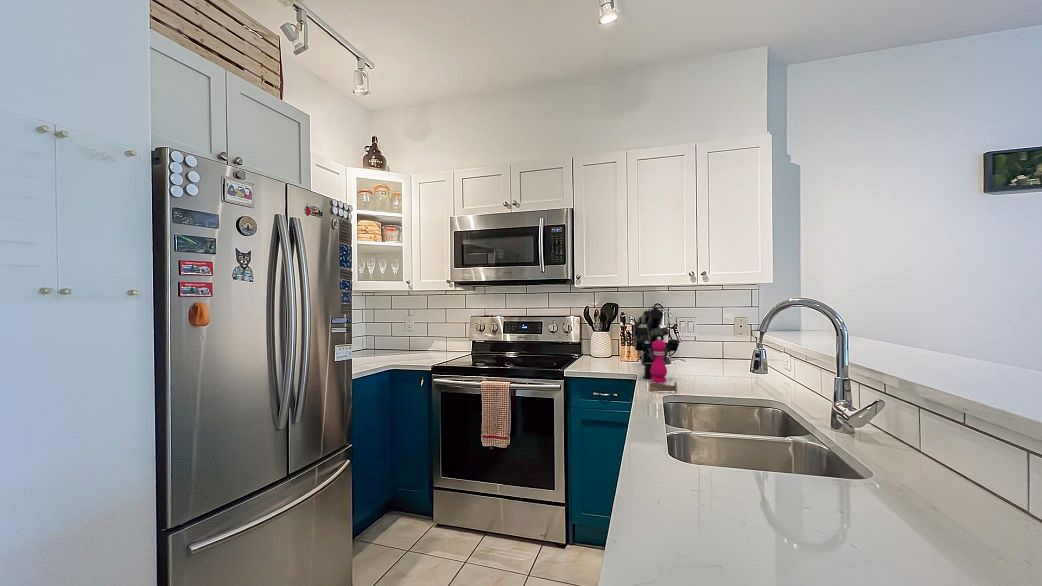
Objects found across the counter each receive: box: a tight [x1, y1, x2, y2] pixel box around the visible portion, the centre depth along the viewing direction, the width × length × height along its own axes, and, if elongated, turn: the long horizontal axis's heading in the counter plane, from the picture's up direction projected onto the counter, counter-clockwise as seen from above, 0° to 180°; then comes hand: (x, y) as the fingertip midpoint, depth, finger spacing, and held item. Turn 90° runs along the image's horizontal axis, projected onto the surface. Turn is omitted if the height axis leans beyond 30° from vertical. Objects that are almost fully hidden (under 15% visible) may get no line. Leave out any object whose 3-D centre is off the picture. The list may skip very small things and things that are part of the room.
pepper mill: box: [650, 337, 668, 384], centre depth 194 cm, size 7×7×20 cm
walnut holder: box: [649, 380, 678, 392], centre depth 185 cm, size 9×10×3 cm
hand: (659, 360), depth 193 cm, fingers closed on pepper mill, 5 cm apart
